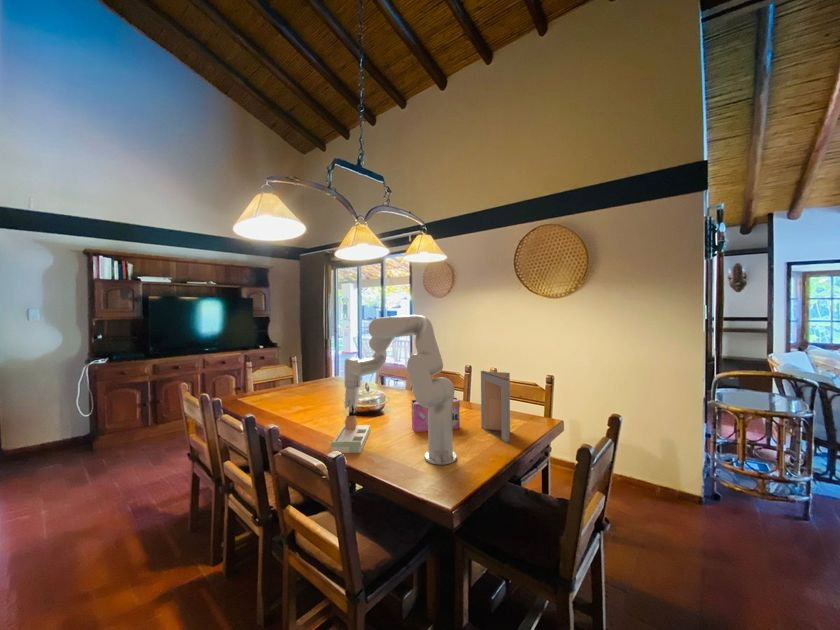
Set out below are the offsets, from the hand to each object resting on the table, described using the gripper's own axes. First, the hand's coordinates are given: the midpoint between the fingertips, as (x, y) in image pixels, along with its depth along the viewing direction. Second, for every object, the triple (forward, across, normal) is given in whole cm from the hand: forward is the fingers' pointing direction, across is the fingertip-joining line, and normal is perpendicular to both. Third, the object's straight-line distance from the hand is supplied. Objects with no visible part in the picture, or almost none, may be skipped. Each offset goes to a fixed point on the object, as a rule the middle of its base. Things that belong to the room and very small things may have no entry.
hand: (352, 420), depth 168 cm
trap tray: (+4, +13, +3) cm, 14 cm away
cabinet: (+3, +5, +71) cm, 71 cm away
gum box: (+4, -4, +40) cm, 41 cm away
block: (+2, +3, 0) cm, 4 cm away
